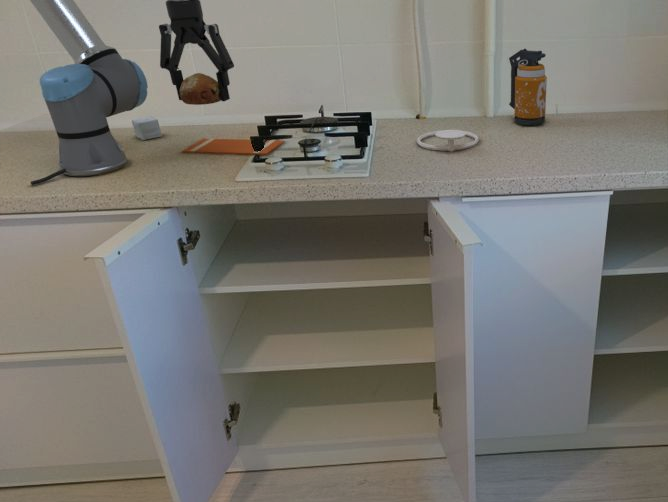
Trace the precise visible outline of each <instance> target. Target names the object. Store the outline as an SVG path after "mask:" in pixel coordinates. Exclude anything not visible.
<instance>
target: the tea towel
mask: <svg viewBox="0 0 668 502" xmlns="http://www.w3.org/2000/svg"><path fill="white" fill-rule="evenodd" d="M251 140H252V139H231V138H214V137H213V138H212V137H211V138H202V139H200V140H197V142H194V143H193V144H191V145H189V146H188V147H186V148H184V149H182V150H181V153H182V154H209V155H210V154H211V155H213V154H214V155H246V156H247V155H248V156H249V155H250V156H267V155H269V154H270V153H272V152H273V151H274V150H276V149H277V148H278V147H281V146H282V145H283V144H284V143H285V140H282V139H281V140H277V139H266V140H267V141H266V142H265V145H264V148H263V149H262V150H261V151H258V152H255V151H254V149H253V147H252V144H251Z"/></svg>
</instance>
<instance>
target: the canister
mask: <svg viewBox="0 0 668 502" xmlns="http://www.w3.org/2000/svg"><path fill="white" fill-rule="evenodd" d="M545 57H546V53H544V52H543V51H542V50H528V49H527V48H523V49H520V50H518V51H517V52H516V53H514V54H513V55H511V56H509V58H508V60H509V64H510V69H511V70H510V102H509V103H508V105H509V106H510V107H511V108H512V109H513V110H514V119H513V121H514V123H516V124H519V125H520V126H525V127H532V126H533V127H535V126H539V125H540V124H543V123H545V122H546V106H547V104H546V103H547V83H548V82H547V81H548V77H547V76H546V68H545V65H544V64H543V63H539V62H540V61H542V59H544V58H545Z"/></svg>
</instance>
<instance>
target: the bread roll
mask: <svg viewBox="0 0 668 502" xmlns="http://www.w3.org/2000/svg"><path fill="white" fill-rule="evenodd" d="M183 80H184V81H183V82H182V84H181V86H180V90H179V93H180V97H181V100H180V101H182V102H183V103H184V104H186V105H190V106H191V105H194V106H198V105H211V104H215V103H218V102H219V103H220V102H222V100H221V95H220V90H219V85H218V81H217V79H215V78H213V77H212V76H210V75H207V74H204V73H202V72H197V73H193V74H191V75H190V76H187V77H185V78H184V79H183Z"/></svg>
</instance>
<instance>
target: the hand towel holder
mask: <svg viewBox="0 0 668 502" xmlns="http://www.w3.org/2000/svg"><path fill="white" fill-rule="evenodd" d="M430 137H436V138H437V139H440V140H443V141H447V145H434V144H428V143H424V142H423V141H422V140H423V139H426V138H430ZM465 137H469V138H472V139H474V140H473V141H471V142H467V143H464V144H463V143H462V144H455V142H454V141H455V140H460V139H462V138H465ZM479 141H480V140H479V137H478V135H477V134H475V133H473V132H470V131H468V130H467V131H465V130H460V129H444V130H435V131H428V132H425V133H422V134H421V135H419V136H418V137H417V138H416V143H417V144H418V146H419V147H421V148H423V149H427V150H430V151H431V150H433V151H442V152H443V151H448V152H449V153H451V152H454V151H460V150H466V149H469V148H472V147H474V146H476V145H477V144H478V143H479Z"/></svg>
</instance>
